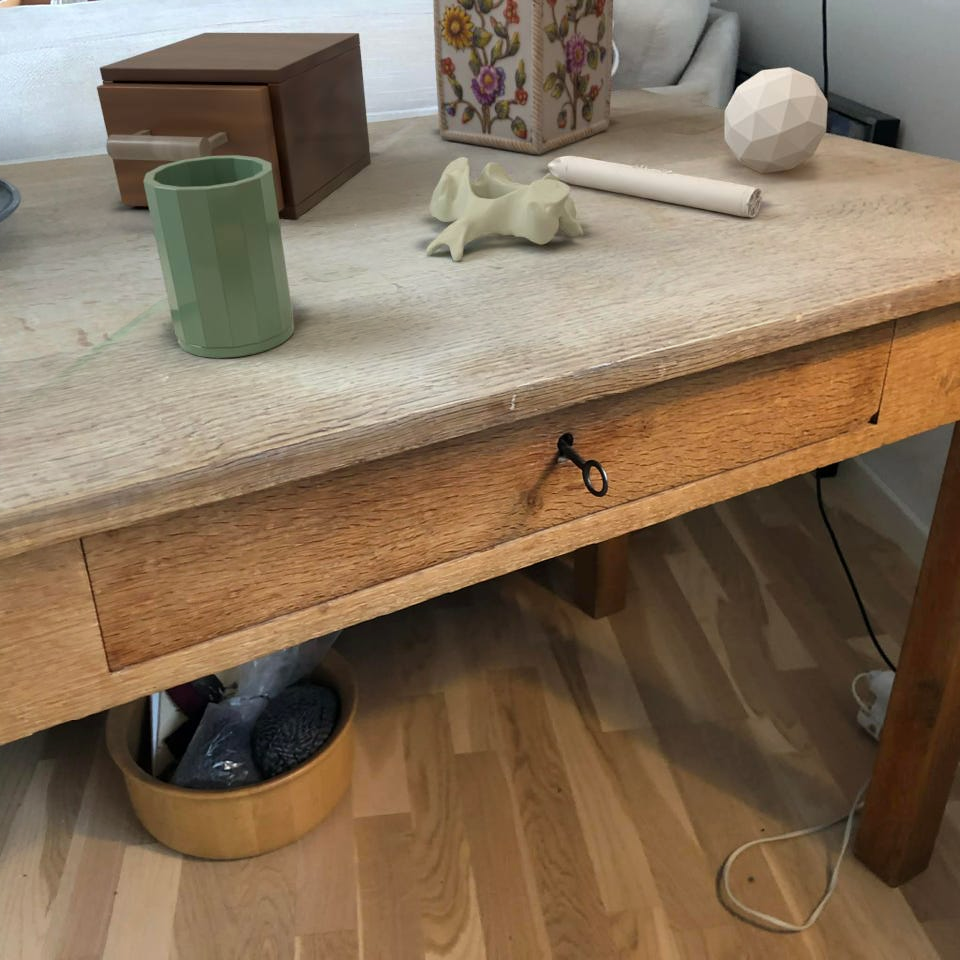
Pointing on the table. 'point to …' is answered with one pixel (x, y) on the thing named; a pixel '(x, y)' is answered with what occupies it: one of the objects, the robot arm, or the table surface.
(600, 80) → the decorative jar
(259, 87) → the drawer
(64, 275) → the table surface
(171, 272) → the pen cup
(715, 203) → the marker
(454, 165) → the spine bone
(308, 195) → the cabinet
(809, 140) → the geometric ball
